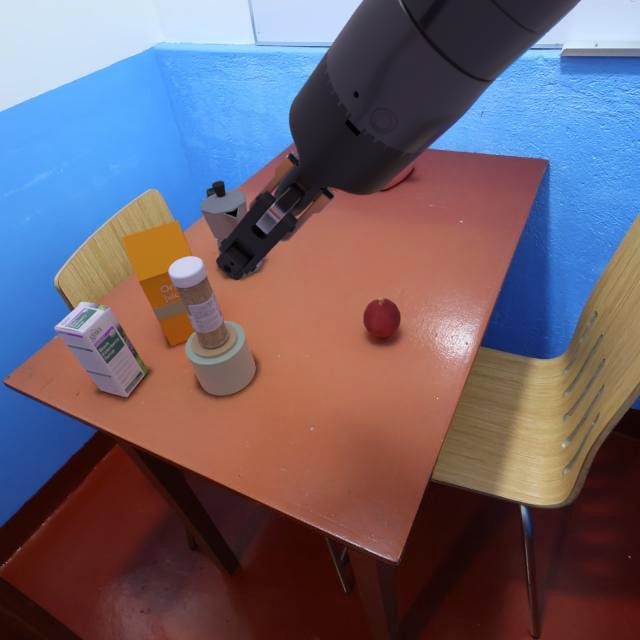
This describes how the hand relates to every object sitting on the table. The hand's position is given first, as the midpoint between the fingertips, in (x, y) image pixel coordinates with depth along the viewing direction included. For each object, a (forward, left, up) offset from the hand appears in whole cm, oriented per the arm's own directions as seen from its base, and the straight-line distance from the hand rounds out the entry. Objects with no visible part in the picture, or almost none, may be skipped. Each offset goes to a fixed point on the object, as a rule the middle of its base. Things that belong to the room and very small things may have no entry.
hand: (257, 238), depth 38 cm
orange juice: (+10, +35, -34) cm, 50 cm away
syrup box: (-5, +35, -34) cm, 49 cm away
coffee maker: (+28, +40, -34) cm, 60 cm away
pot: (+71, +33, -34) cm, 85 cm away
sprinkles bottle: (+5, +21, -27) cm, 34 cm away
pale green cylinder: (+5, +21, -34) cm, 40 cm away
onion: (+24, +4, -34) cm, 42 cm away
